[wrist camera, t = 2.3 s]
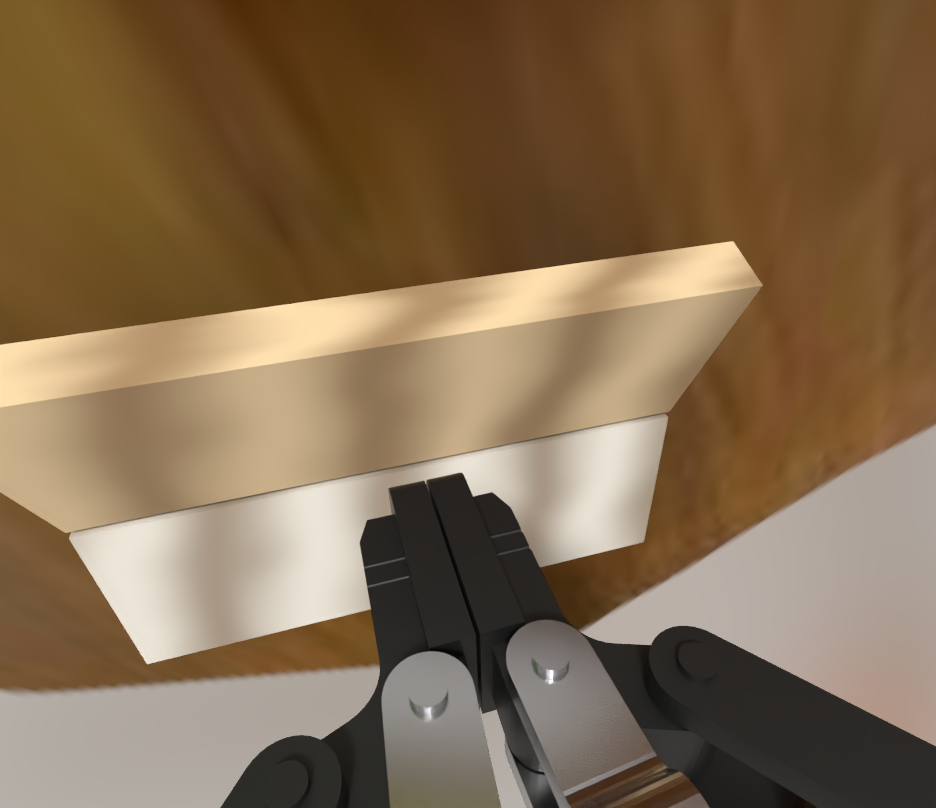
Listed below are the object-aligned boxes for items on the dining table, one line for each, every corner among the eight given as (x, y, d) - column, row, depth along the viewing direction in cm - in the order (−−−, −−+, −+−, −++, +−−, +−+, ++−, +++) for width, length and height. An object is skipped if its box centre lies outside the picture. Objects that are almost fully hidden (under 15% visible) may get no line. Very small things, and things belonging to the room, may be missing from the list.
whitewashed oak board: (645, 393, 27) (668, 417, 26) (625, 514, 32) (643, 541, 30) (83, 501, 23) (68, 538, 21) (155, 625, 27) (147, 664, 26)
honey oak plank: (733, 241, 19) (762, 285, 19) (650, 374, 26) (669, 411, 25) (-90, 357, 15) (-108, 424, 14) (69, 482, 22) (65, 532, 21)
